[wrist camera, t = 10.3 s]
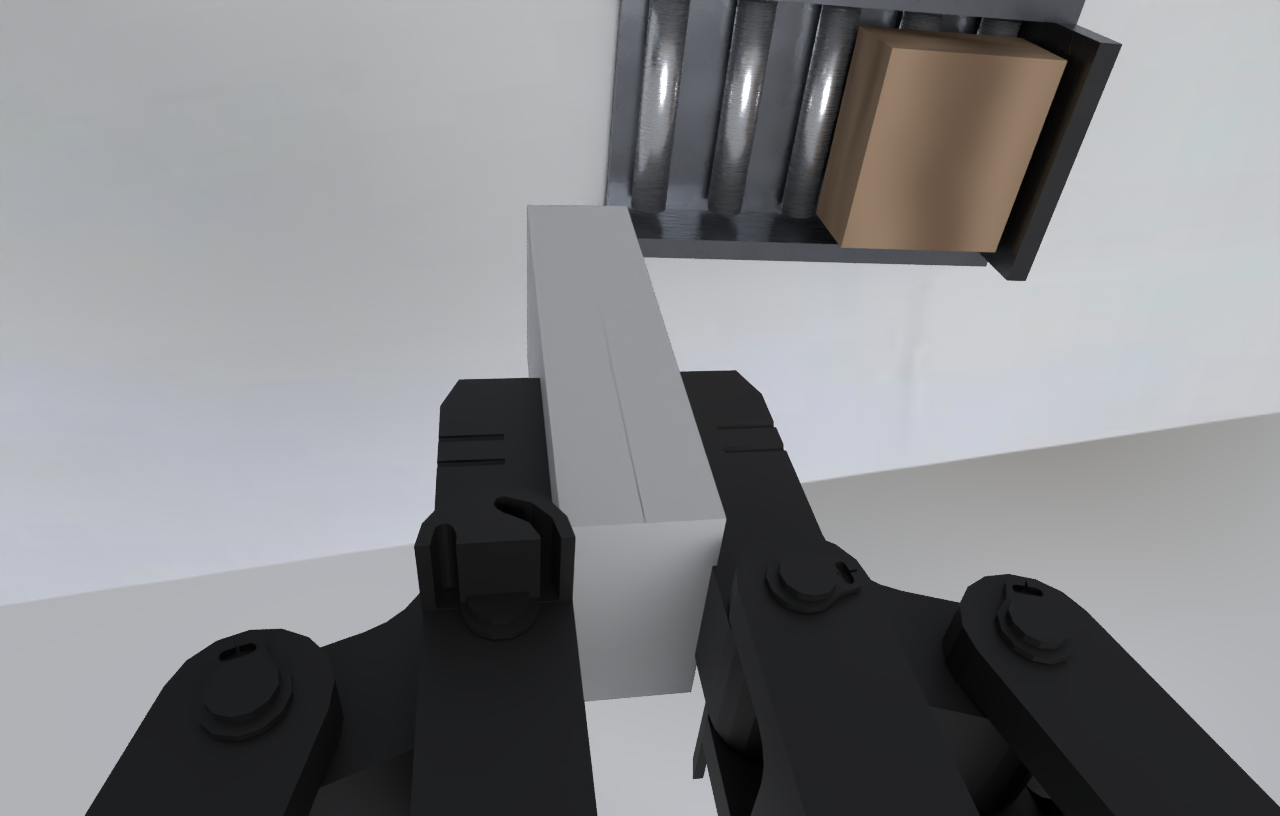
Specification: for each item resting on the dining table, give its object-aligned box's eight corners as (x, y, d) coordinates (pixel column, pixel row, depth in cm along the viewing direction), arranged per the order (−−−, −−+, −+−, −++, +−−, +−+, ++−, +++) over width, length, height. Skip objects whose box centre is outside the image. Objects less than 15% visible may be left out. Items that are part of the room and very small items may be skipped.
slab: (815, 213, 43) (841, 247, 40) (859, 25, 38) (892, 47, 35) (959, 218, 44) (995, 252, 41) (1021, 37, 39) (1067, 60, 36)
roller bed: (604, 218, 45) (621, 290, 39) (624, -56, 37) (650, -22, 31) (949, 230, 48) (1018, 298, 42) (1033, -20, 41) (1132, 18, 34)
